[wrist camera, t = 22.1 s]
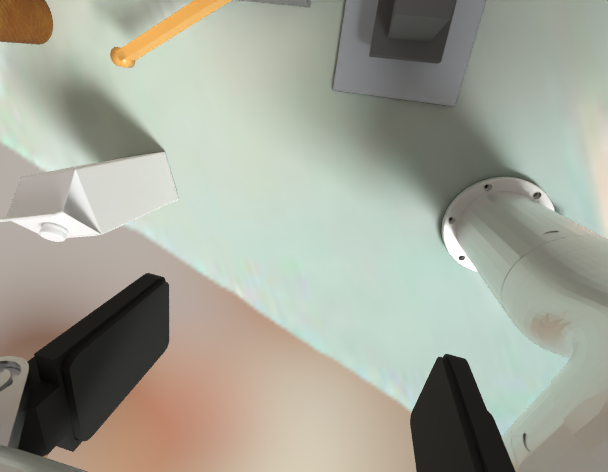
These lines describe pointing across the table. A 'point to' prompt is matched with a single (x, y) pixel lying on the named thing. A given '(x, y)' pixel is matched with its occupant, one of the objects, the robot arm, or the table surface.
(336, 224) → the table surface
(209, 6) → the orange rod with ball
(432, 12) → the plug
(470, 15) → the mat
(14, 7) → the disposable coffee cup
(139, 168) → the milk carton
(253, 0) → the socket
